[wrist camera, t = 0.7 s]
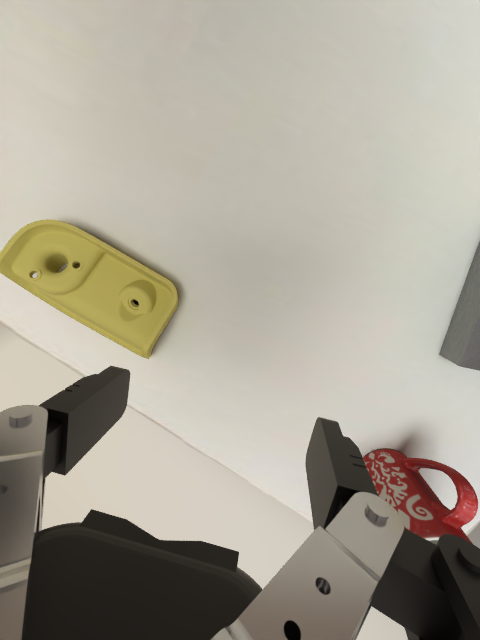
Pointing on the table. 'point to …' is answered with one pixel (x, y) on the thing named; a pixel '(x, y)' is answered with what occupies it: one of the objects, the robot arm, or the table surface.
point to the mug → (420, 494)
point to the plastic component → (91, 283)
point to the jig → (466, 323)
